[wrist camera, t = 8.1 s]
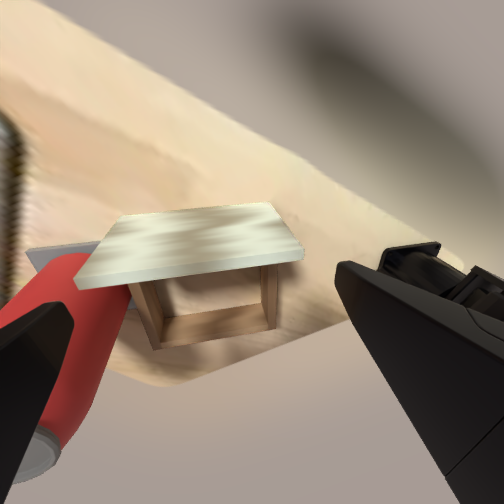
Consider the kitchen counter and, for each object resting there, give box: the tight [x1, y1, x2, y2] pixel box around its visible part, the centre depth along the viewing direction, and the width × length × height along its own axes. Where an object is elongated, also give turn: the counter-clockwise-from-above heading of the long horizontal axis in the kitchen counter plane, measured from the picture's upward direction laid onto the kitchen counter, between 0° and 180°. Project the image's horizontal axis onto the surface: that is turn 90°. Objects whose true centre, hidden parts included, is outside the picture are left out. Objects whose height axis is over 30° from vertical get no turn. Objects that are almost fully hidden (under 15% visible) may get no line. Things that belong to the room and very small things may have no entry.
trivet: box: [25, 241, 137, 310], centre depth 20 cm, size 6×7×1 cm
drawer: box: [73, 202, 304, 350], centre depth 19 cm, size 12×12×8 cm
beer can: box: [0, 253, 132, 485], centre depth 15 cm, size 7×7×12 cm
